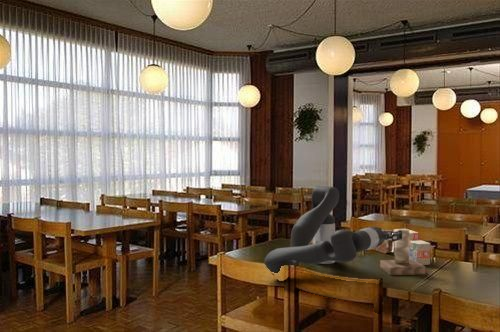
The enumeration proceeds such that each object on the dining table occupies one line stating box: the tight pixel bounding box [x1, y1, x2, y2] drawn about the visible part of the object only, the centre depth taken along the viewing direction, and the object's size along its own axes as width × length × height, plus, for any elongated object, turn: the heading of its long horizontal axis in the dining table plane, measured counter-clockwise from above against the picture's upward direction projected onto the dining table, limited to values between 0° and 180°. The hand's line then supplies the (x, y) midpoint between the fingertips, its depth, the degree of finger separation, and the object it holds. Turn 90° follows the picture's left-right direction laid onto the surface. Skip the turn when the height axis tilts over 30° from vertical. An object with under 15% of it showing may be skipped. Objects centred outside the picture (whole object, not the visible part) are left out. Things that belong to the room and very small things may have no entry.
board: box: [379, 259, 426, 276], centre depth 191 cm, size 14×12×3 cm
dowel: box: [394, 228, 410, 265], centre depth 190 cm, size 6×6×16 cm
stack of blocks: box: [392, 228, 431, 266], centre depth 210 cm, size 21×6×12 cm, turn 10°
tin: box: [374, 240, 394, 254], centre depth 227 cm, size 15×3×8 cm, turn 13°
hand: (390, 231), depth 180 cm, fingers open, 8 cm apart
